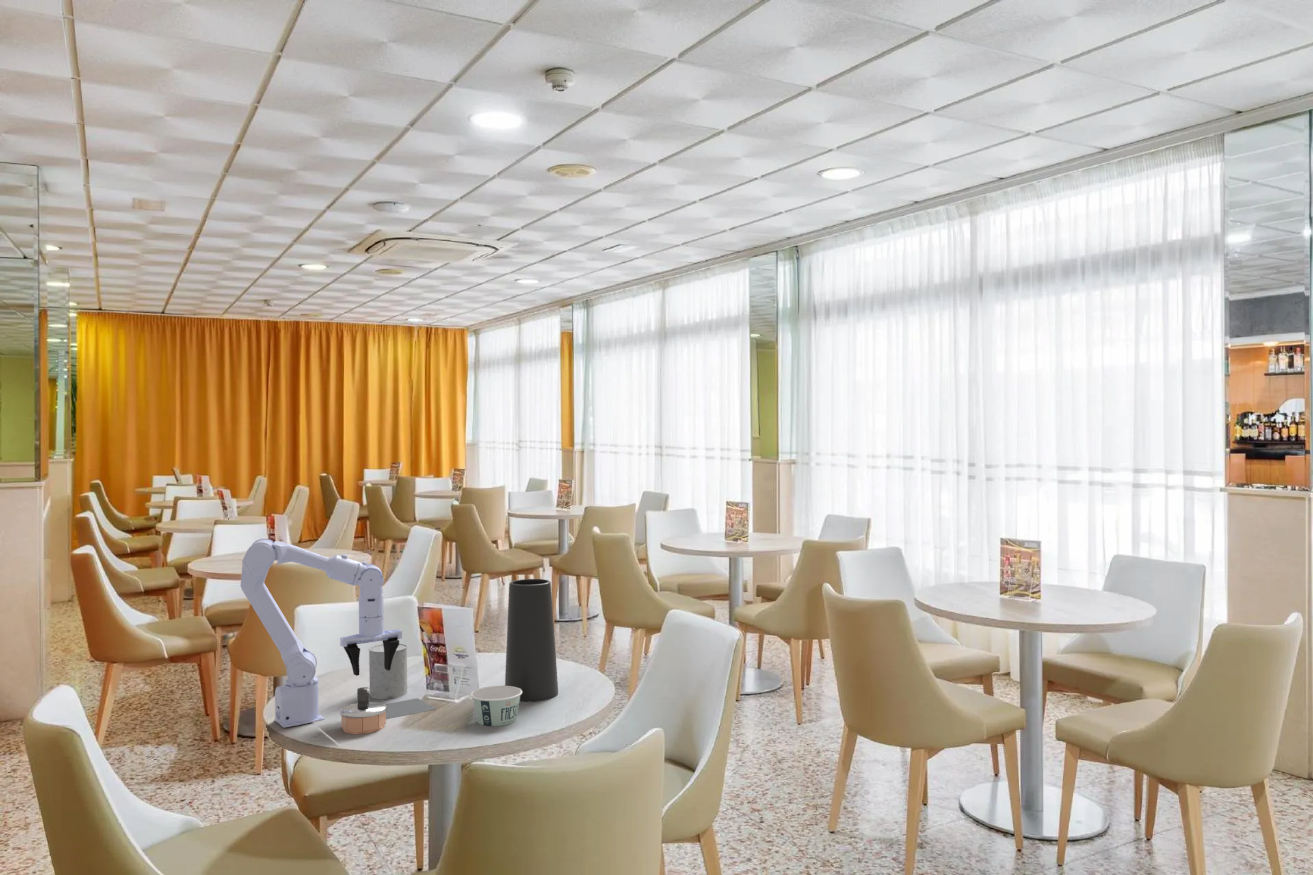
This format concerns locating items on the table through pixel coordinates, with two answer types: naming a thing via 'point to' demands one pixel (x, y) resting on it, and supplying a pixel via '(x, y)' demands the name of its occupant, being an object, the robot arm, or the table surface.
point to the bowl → (363, 724)
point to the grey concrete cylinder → (388, 673)
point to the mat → (406, 708)
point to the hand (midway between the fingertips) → (372, 672)
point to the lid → (363, 706)
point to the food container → (496, 705)
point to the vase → (531, 640)
